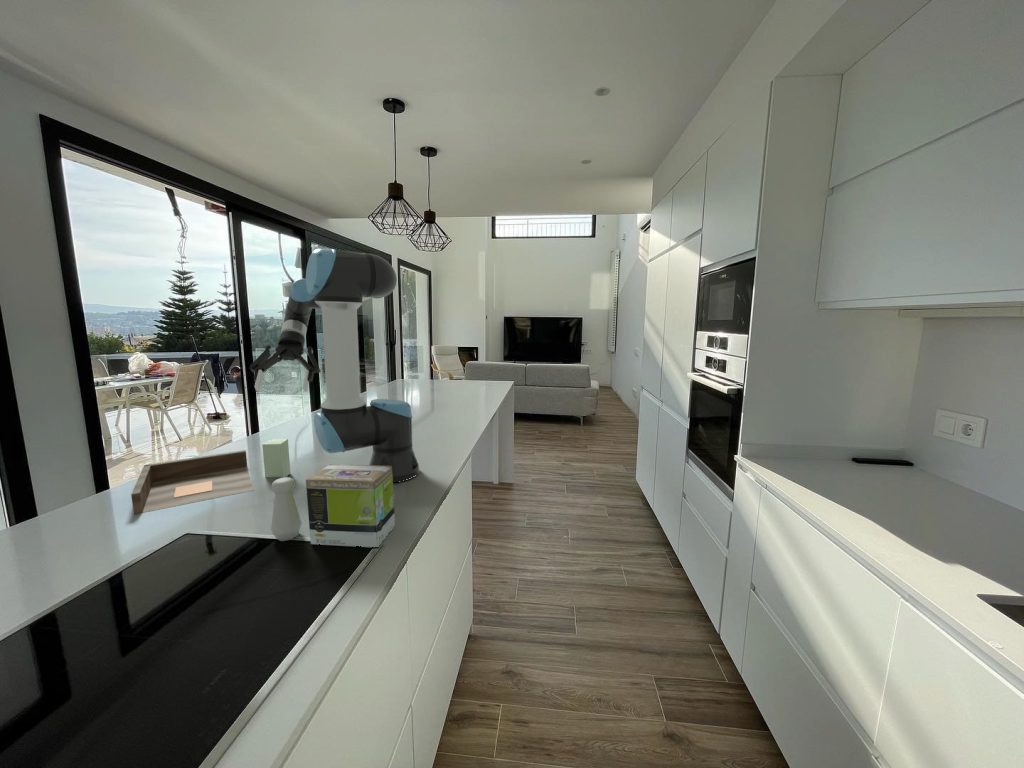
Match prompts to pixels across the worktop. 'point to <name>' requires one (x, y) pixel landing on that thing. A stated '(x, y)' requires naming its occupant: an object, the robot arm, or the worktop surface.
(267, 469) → the sage block
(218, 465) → the tray
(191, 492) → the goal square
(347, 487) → the tea box
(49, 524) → the worktop surface
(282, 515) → the salt shaker
